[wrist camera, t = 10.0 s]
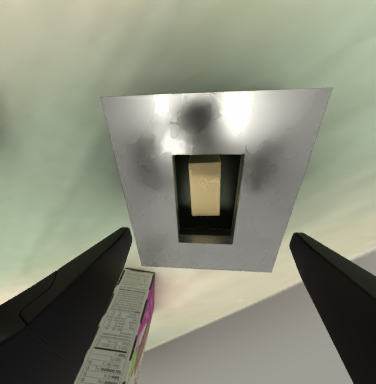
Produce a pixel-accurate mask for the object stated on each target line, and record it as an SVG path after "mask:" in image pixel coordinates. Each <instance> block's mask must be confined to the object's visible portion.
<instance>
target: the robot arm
mask: <svg viewBox="0 0 376 384" xmlns="http://www.w3.org/2000/svg"><path fill="white" fill-rule="evenodd" d="M131 243H132V236H131V232H130V229H129V228H128V227H122V228H120V229H118V230H117V231H115V232H114V233H112V234H111V235H109V236H108V237H106V238H105V239H103V240H102V241H100V242H99V243H97V244H96V245H94V246H93V247H91V248H90V249H88V250H87V251H85V252H84V253H82V254H81V255H79V256H78V257H76V258H75V259H73V260H71V261H70V262H68V263H67V264H65V265H64V266H62V267H61V268H59V269H58V270H57V271H55V272H53V273H52V274H50V275H49V276H47V277H46V278H44V279H43V280H41V281H39V282H38V283H36V284H35V285H33V286H32V287H30V288H28V289H27V290H25V291H23V292H22V293H20V294H18V295H17V296H15V297H13V298H12V299H10V300H8V301H7V302H5V303H3V304H1V305H0V384H74V382H75V380H76V377H77V374H78V372H79V370H80V368H81V365H82V363H83V361H84V359H85V356H86V354H87V352H88V349H89V347H90V345H91V342H92V340H93V338H94V335H95V333H96V331H97V329H98V326H99V324H100V322H101V319H102V317H103V315H104V312H105V310H106V308H107V305H108V303H109V301H110V299H111V296H112V294H113V292H114V289H115V287H116V285H117V282H118V280H119V278H120V275H121V273H122V271H123V268H124V266H125V263H126V259H127V256H128V253H129V250H130V247H131ZM290 250H291V252H292V255H293V258H294V260H295V263H296V266H297V269H298V271H299V274H300V276H301V278H302V280H303V282H304V284H305V286H306V289H307V291H308V292H309V295H310V297H311V299H312V300H313V303H314V304H315V307H316V309H317V311H318V313H319V315H320V317H321V319H322V321H323V323H324V325H325V327H326V329H327V331H328V333H329V335H330V337H331V339H332V341H333V343H334V345H335V347H336V349H337V351H338V353H339V355H340V357H341V359H342V361H343V363H344V365H345V367H346V369H347V371H348V373H349V375H350V377H351V379H352V381H353V383H354V384H376V276H374V275H373V274H371V273H369V272H368V271H366V270H364V269H363V268H361V267H359V266H358V265H356V264H354V263H353V262H351V261H349V260H348V259H346V258H344V257H343V256H341V255H339V254H338V253H336V252H334V251H333V250H331V249H329V248H328V247H326V246H324V245H323V244H321V243H319V242H318V241H316V240H314V239H313V238H311V237H309V236H308V235H306V234H304V233H294V234H293V236H292V239H291V241H290Z"/></svg>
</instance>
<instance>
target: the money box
mask: <svg viewBox="0 0 376 384" xmlns="http://www.w3.org/2000/svg"><path fill="white" fill-rule="evenodd" d="M332 89H333V88H313V89H288V90H263V91H238V92H213V93H187V94H162V95H137V96H112V97H100V98H101V102H102V106H103V110H104V114H105V118H106V122H107V126H108V130H109V134H110V138H111V143H112V147H113V151H114V155H115V159H116V163H117V167H118V171H119V175H120V179H121V183H122V187H123V191H124V196H125V200H126V204H127V208H128V212H129V216H130V220H131V224H132V228H133V232H134V236H135V240H136V244H137V249H138V253H139V257H140V261H141V265H142V266H150V267H171V268H191V269H211V270H231V271H251V272H272V269H273V266H274V263H275V260H276V257H277V254H278V251H279V248H280V245H281V242H282V239H283V236H284V233H285V230H286V227H287V224H288V221H289V218H290V215H291V212H292V209H293V206H294V203H295V200H296V197H297V194H298V191H299V188H300V185H301V182H302V179H303V176H304V173H305V170H306V167H307V164H308V161H309V158H310V155H311V152H312V149H313V146H314V143H315V140H316V137H317V134H318V131H319V128H320V125H321V122H322V119H323V116H324V113H325V110H326V107H327V104H328V101H329V98H330V95H331V92H332ZM209 154H241V159H240V167H239V175H238V183H237V191H236V198H235V206H234V214H233V222H232V229H210V228H180V227H179V213H178V198H177V183H176V169H175V155H209Z"/></svg>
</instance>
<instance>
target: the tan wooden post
mask: <svg viewBox="0 0 376 384" xmlns="http://www.w3.org/2000/svg"><path fill="white" fill-rule="evenodd" d="M188 164H189V179H190V193H191V208H192V216H214V215H219V211H220V175H221V161H220V158H219V155H218V154H209V155H190V159H189V163H188Z"/></svg>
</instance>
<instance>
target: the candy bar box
mask: <svg viewBox="0 0 376 384" xmlns="http://www.w3.org/2000/svg"><path fill="white" fill-rule="evenodd" d="M154 277H155V274H154V273H152V272H148V271H139V270H132V269H124V271H123V273H122V275H121V277H120V279H119V281H118V283H117V285H116V288H115V290H114V292H113V294H112V296H111V299H110V301H109V303H108V305H107V308H106V310H105V312H104V315H103V317H102V319H101V322H100V324H99V326H98V329H97V331H96V333H95V335H94V338H93V340H92V342H91V345H90V347H89V349H88V352H87V354H86V356H85V359H84V361H83V363H82V365H81V368H80V370H79V372H78V374H77V377H76V380H75V382H74V384H137V380H138V375H139V371H140V367H141V363H142V358H143V354H144V349H145V345H146V341H147V336H148V332H149V327H150V323H151V319H152V314H153V301H154Z"/></svg>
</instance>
